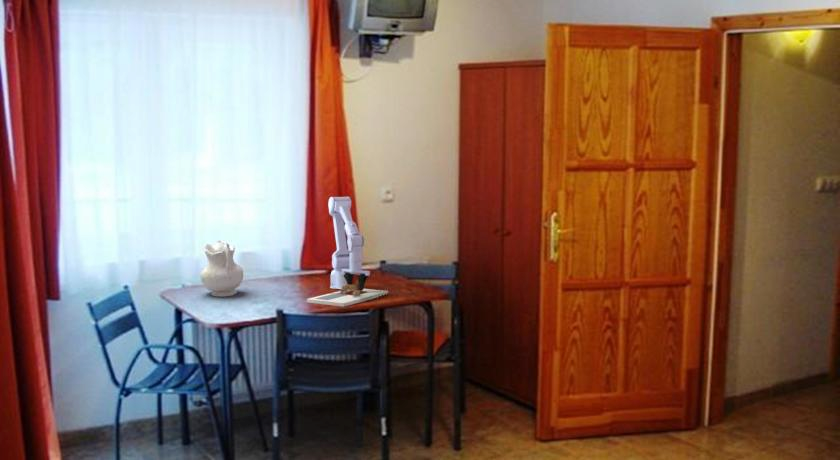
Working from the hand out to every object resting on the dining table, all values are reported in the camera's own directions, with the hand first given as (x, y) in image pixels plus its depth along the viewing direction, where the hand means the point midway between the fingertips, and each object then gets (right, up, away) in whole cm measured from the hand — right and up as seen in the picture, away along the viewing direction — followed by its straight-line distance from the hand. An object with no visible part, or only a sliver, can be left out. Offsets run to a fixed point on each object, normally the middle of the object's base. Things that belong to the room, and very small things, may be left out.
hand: (355, 289), depth 371 cm
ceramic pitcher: (-61, -3, -1) cm, 61 cm away
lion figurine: (-2, -3, -1) cm, 4 cm away
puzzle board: (-2, -3, -8) cm, 9 cm away
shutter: (+7, -2, -8) cm, 11 cm away
